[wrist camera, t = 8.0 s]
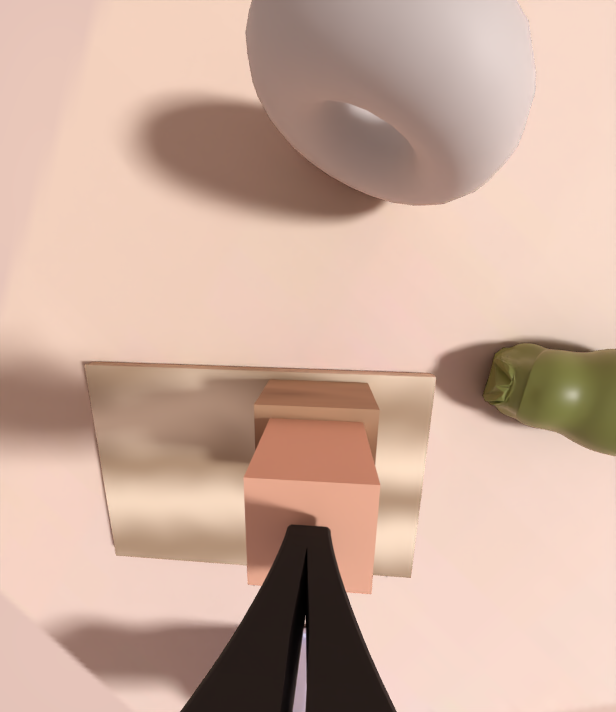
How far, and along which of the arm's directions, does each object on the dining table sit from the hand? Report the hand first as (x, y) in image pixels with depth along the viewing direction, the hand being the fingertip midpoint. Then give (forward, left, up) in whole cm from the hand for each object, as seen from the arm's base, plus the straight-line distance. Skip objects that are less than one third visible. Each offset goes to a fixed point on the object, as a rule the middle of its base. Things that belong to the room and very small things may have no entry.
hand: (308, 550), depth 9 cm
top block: (0, 0, -5) cm, 5 cm away
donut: (+15, -2, -10) cm, 18 cm away
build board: (-4, +4, -10) cm, 11 cm away
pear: (+3, -14, -10) cm, 18 cm away
